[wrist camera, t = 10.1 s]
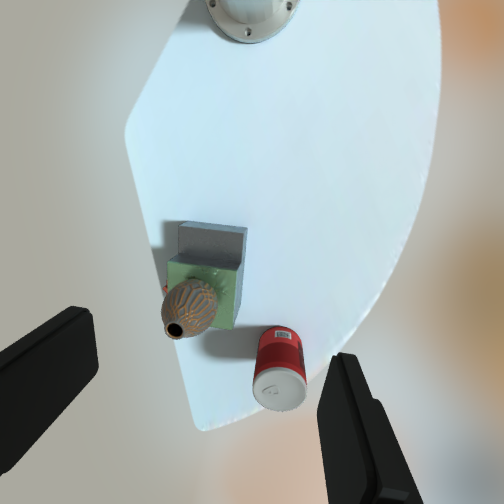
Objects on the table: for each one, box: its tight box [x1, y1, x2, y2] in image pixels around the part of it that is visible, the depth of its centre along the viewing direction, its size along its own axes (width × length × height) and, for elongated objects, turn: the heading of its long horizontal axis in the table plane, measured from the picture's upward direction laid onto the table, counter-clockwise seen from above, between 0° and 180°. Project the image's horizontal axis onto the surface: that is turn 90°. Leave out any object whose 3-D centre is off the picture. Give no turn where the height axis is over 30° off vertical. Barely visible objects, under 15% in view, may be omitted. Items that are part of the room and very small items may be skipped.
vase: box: [161, 279, 218, 340], centre depth 32 cm, size 7×7×9 cm
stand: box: [163, 221, 247, 330], centre depth 39 cm, size 14×11×8 cm
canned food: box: [253, 327, 307, 412], centre depth 41 cm, size 8×8×11 cm
